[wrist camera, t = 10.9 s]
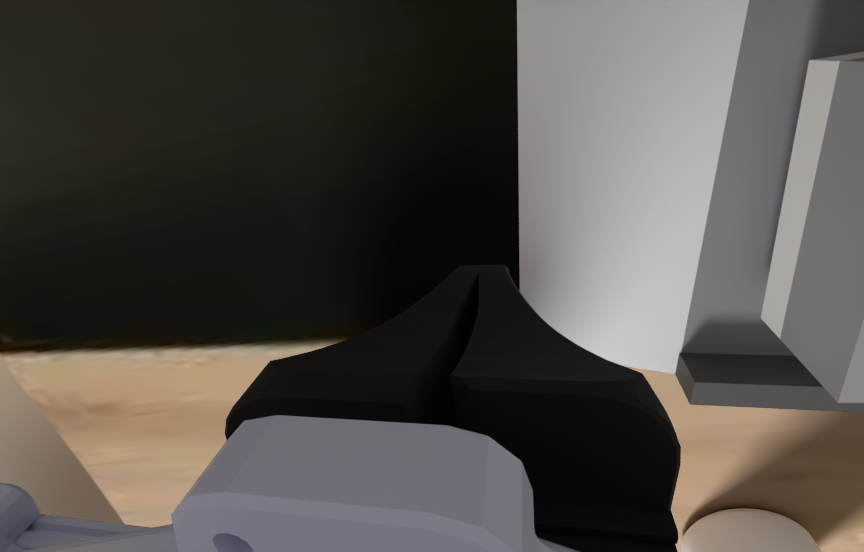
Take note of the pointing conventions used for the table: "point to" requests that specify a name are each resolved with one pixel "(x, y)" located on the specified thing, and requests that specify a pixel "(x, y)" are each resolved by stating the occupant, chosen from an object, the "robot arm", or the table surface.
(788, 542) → the water bottle
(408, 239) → the table surface
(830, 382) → the grey angled piece
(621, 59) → the dock
